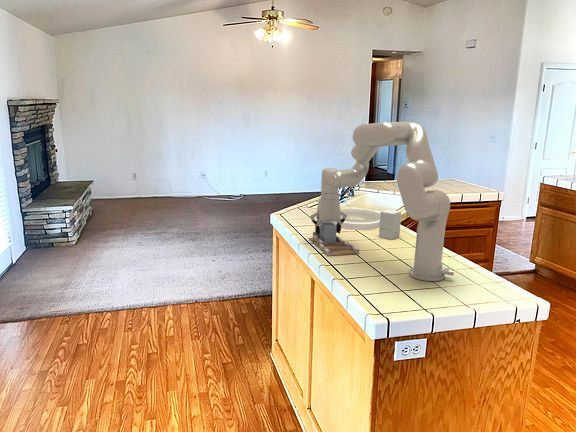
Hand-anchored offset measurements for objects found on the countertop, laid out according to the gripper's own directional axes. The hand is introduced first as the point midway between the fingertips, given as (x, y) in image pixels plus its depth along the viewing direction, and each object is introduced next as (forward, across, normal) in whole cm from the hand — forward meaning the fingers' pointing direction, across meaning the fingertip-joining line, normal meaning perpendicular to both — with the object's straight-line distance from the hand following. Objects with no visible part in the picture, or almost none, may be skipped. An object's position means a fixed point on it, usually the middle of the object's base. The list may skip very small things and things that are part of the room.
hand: (328, 233), depth 206 cm
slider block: (+4, 0, 0) cm, 4 cm away
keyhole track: (+4, 0, +7) cm, 8 cm away
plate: (+4, -26, -30) cm, 40 cm away
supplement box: (+4, -32, -2) cm, 32 cm away
